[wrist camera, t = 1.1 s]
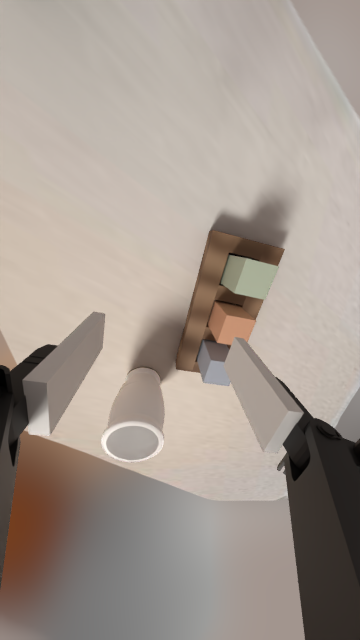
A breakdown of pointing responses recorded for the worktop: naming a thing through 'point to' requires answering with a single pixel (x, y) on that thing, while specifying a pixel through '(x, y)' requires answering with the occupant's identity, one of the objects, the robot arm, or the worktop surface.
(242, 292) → the sage green block
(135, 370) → the jar
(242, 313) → the terracotta toy cube
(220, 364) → the blue-gray block
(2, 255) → the worktop surface
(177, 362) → the brown board
